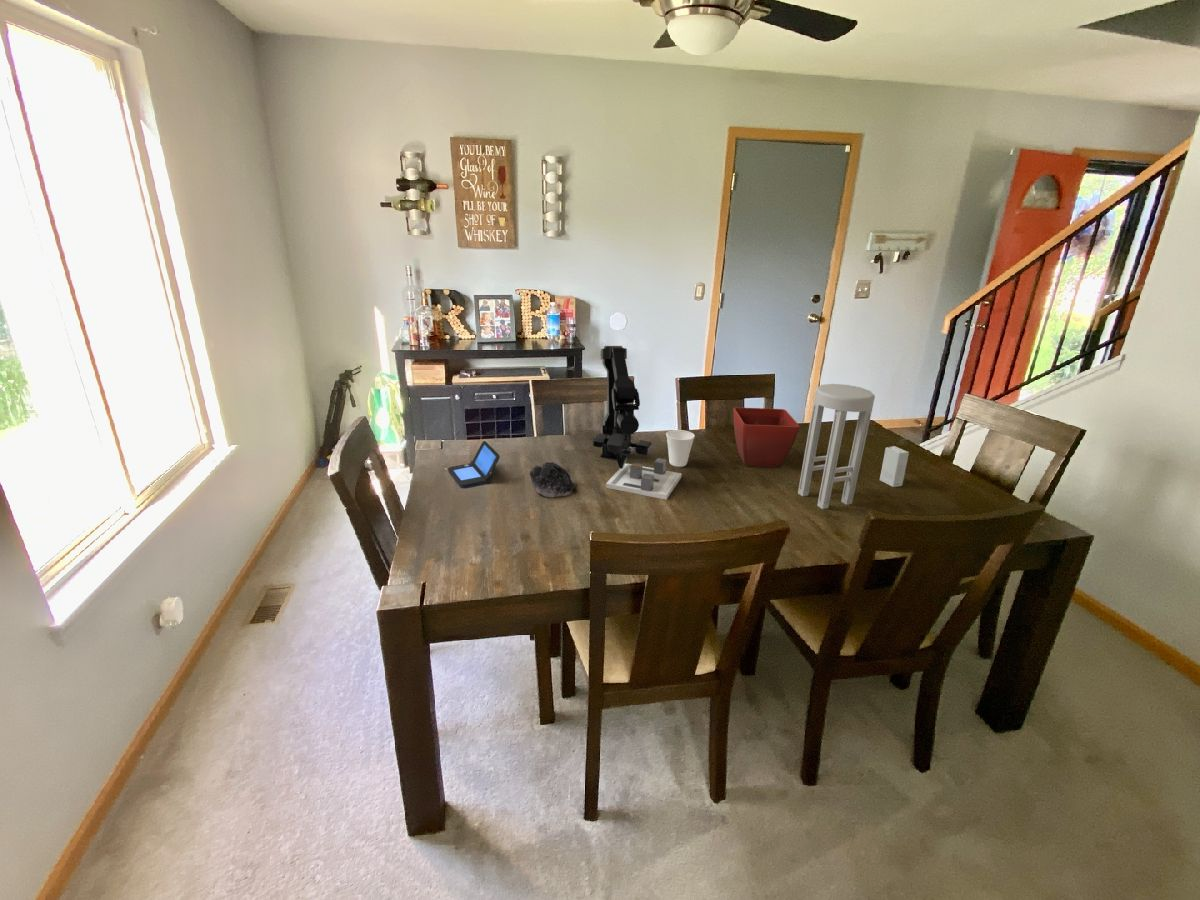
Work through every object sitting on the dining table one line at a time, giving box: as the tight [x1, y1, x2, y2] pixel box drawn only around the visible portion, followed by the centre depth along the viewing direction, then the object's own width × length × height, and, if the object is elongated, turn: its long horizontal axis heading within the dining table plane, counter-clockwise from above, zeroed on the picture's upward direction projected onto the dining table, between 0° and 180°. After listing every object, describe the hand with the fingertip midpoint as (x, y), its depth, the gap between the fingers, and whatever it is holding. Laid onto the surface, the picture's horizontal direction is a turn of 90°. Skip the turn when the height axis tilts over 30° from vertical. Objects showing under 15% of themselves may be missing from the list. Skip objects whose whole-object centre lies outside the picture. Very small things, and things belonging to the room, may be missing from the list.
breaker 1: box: [641, 474, 654, 491], centre depth 177 cm, size 3×4×4 cm
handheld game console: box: [447, 440, 501, 489], centre depth 185 cm, size 16×13×9 cm
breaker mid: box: [630, 462, 643, 479], centre depth 185 cm, size 3×4×4 cm
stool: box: [797, 383, 876, 510], centre depth 171 cm, size 16×16×35 cm
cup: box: [665, 429, 696, 468], centre depth 199 cm, size 10×10×11 cm
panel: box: [605, 462, 682, 500], centre depth 185 cm, size 20×18×2 cm
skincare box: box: [879, 445, 910, 488], centre depth 188 cm, size 6×4×12 cm
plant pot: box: [733, 406, 801, 468], centre depth 202 cm, size 19×19×17 cm
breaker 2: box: [653, 457, 667, 475], centre depth 189 cm, size 3×4×4 cm
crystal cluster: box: [529, 461, 575, 498], centre depth 178 cm, size 13×14×10 cm
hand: (621, 468), depth 187 cm, fingers closed
